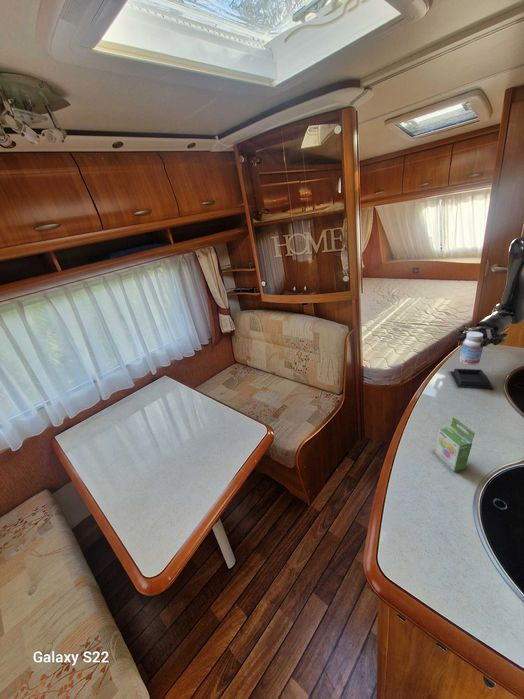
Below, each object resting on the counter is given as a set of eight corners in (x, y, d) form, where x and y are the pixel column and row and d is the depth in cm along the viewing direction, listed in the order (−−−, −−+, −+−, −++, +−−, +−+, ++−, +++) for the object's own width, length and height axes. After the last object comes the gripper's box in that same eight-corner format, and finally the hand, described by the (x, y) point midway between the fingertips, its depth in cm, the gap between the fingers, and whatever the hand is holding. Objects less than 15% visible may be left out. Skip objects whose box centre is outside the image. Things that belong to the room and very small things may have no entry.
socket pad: (481, 374, 111) (483, 368, 110) (492, 390, 102) (494, 383, 100) (450, 373, 115) (451, 367, 113) (457, 388, 105) (459, 382, 104)
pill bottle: (466, 366, 98) (471, 338, 93) (455, 358, 104) (460, 331, 99) (483, 364, 98) (490, 336, 93) (472, 356, 103) (478, 329, 98)
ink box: (434, 453, 81) (440, 419, 75) (446, 450, 81) (453, 416, 75) (453, 472, 75) (462, 437, 69) (465, 469, 75) (475, 433, 69)
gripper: (471, 313, 107) (450, 327, 99) (518, 321, 96) (498, 337, 88) (467, 331, 110) (446, 345, 103) (512, 340, 99) (493, 357, 92)
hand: (470, 342), depth 96 cm, fingers closed on pill bottle, 6 cm apart
